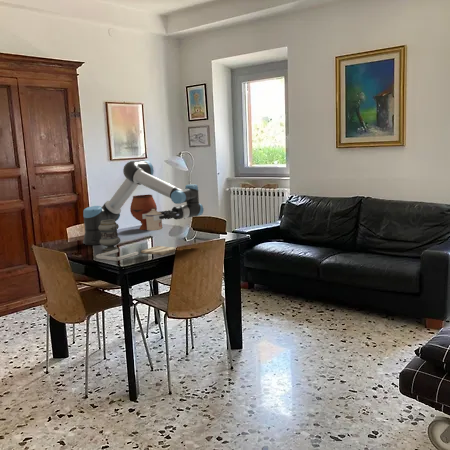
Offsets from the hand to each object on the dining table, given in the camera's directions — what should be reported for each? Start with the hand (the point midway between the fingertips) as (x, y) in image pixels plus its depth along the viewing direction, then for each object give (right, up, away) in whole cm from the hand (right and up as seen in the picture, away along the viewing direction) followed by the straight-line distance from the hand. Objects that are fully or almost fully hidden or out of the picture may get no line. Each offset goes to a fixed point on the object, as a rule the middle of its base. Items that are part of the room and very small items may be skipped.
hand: (148, 217), depth 273 cm
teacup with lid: (+3, -7, +4) cm, 8 cm away
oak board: (+6, -19, +7) cm, 21 cm away
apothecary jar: (-25, -20, +17) cm, 36 cm away
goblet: (-16, -7, +87) cm, 89 cm away
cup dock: (-20, -22, +1) cm, 30 cm away
